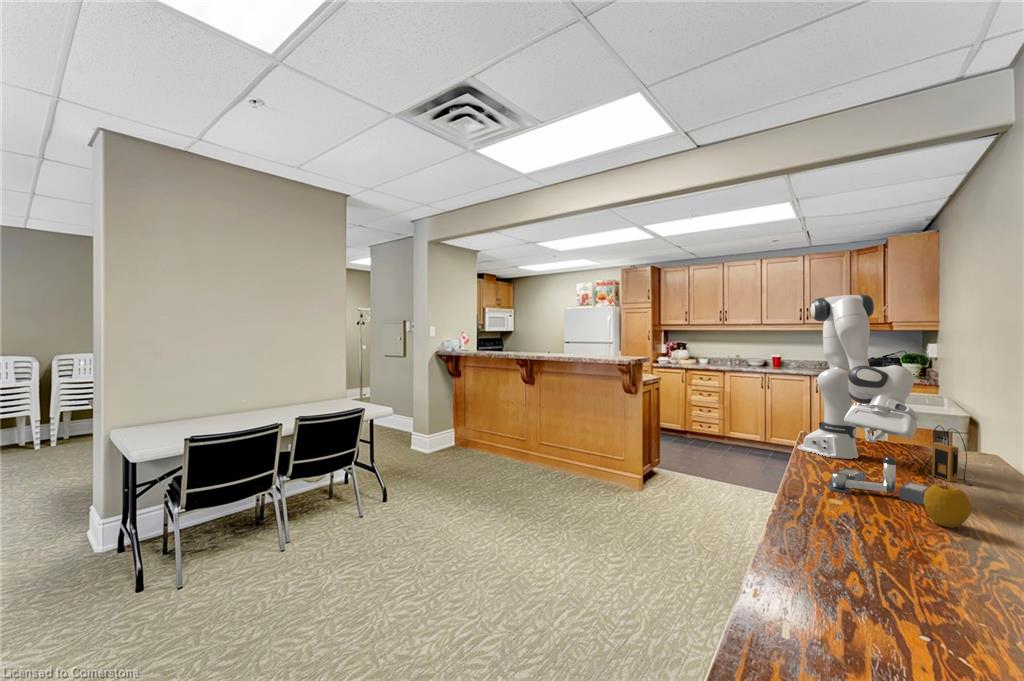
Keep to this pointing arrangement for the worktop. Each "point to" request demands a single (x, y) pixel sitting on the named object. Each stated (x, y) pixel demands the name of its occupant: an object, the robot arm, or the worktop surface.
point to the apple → (947, 505)
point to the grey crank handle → (887, 485)
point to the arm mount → (838, 489)
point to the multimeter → (946, 460)
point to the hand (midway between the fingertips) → (870, 441)
